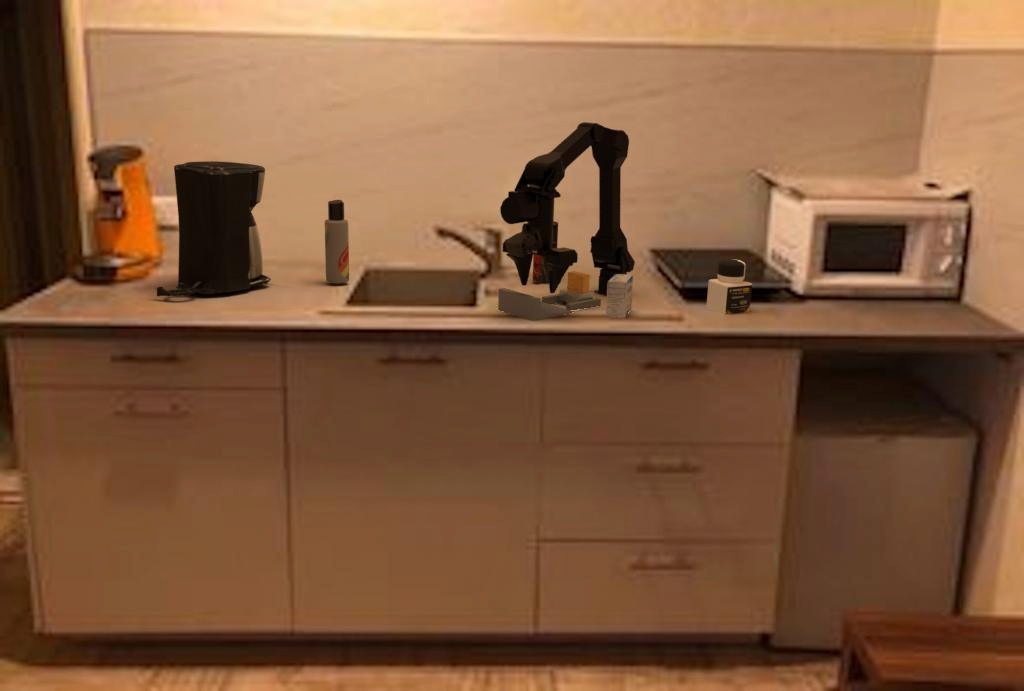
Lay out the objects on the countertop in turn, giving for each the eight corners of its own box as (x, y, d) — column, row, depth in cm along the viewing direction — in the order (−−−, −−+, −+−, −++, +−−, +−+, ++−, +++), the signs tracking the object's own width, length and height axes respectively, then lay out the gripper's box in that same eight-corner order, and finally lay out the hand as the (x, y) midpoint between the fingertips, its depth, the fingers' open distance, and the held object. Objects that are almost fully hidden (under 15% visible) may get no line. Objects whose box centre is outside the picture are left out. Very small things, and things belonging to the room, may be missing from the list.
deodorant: (558, 283, 257) (561, 224, 253) (535, 283, 255) (537, 224, 251) (552, 278, 262) (554, 220, 258) (529, 278, 261) (531, 220, 257)
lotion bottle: (354, 280, 253) (352, 200, 247) (338, 284, 248) (336, 202, 243) (336, 277, 256) (335, 198, 250) (321, 281, 251) (319, 200, 246)
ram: (574, 296, 238) (575, 270, 237) (592, 301, 234) (594, 274, 232) (559, 299, 235) (560, 272, 234) (577, 304, 231) (578, 277, 229)
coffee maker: (281, 278, 254) (276, 160, 246) (230, 304, 227) (224, 172, 219) (207, 272, 257) (201, 156, 249) (150, 297, 231) (140, 168, 223)
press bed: (568, 298, 242) (569, 276, 240) (605, 308, 233) (606, 286, 232) (498, 311, 228) (498, 288, 226) (534, 322, 219) (535, 299, 217)
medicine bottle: (725, 316, 229) (730, 264, 226) (705, 309, 235) (709, 258, 232) (750, 313, 232) (755, 262, 229) (729, 306, 238) (734, 256, 235)
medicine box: (625, 320, 223) (627, 282, 221) (605, 318, 224) (607, 280, 222) (631, 312, 231) (633, 274, 228) (611, 310, 232) (614, 273, 229)
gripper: (484, 216, 223) (483, 286, 227) (542, 229, 210) (539, 302, 214) (522, 212, 230) (520, 279, 234) (580, 224, 217) (577, 295, 221)
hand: (537, 289), depth 226 cm, fingers open, 9 cm apart
